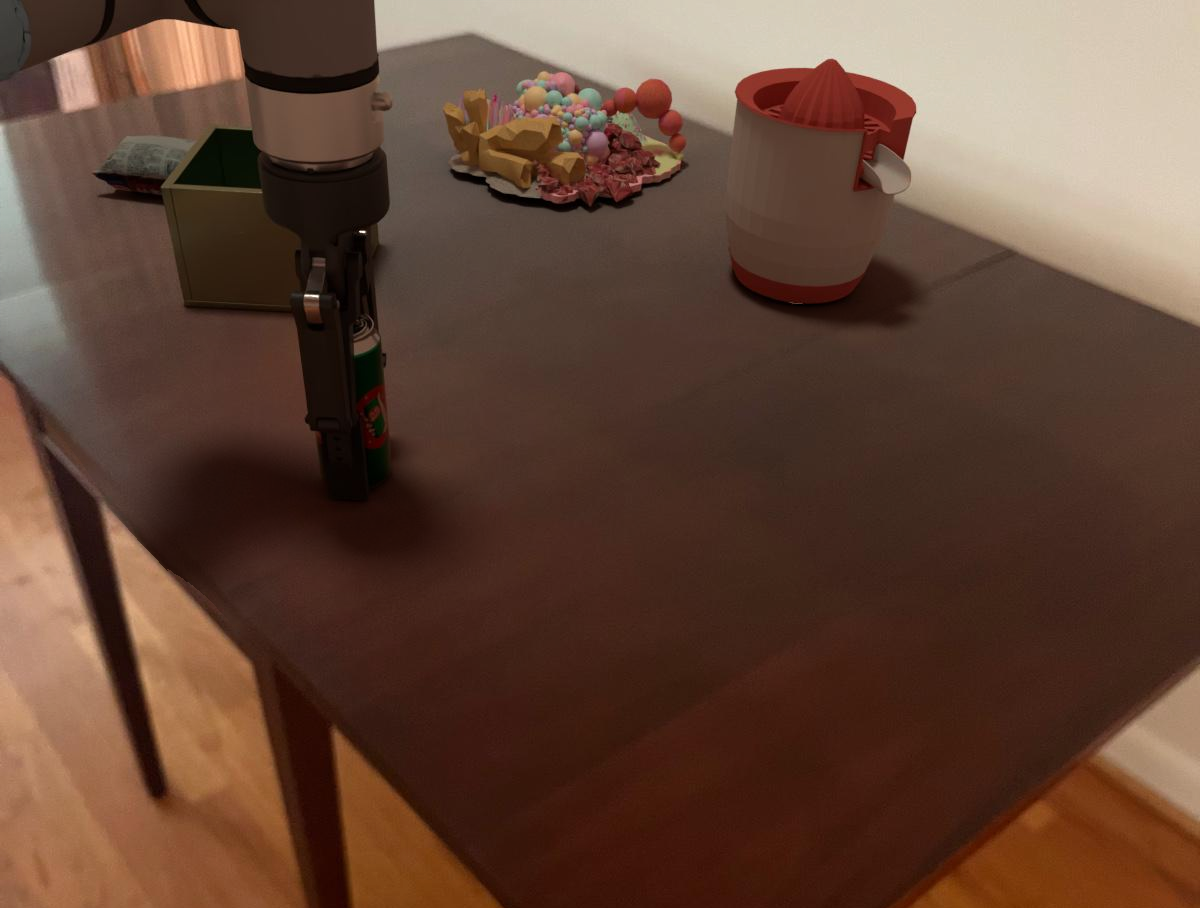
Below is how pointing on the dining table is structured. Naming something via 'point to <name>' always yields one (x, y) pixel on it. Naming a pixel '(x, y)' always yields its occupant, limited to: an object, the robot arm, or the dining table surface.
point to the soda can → (369, 402)
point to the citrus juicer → (813, 178)
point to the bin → (229, 227)
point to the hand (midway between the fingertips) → (356, 471)
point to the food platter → (565, 139)
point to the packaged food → (143, 162)
